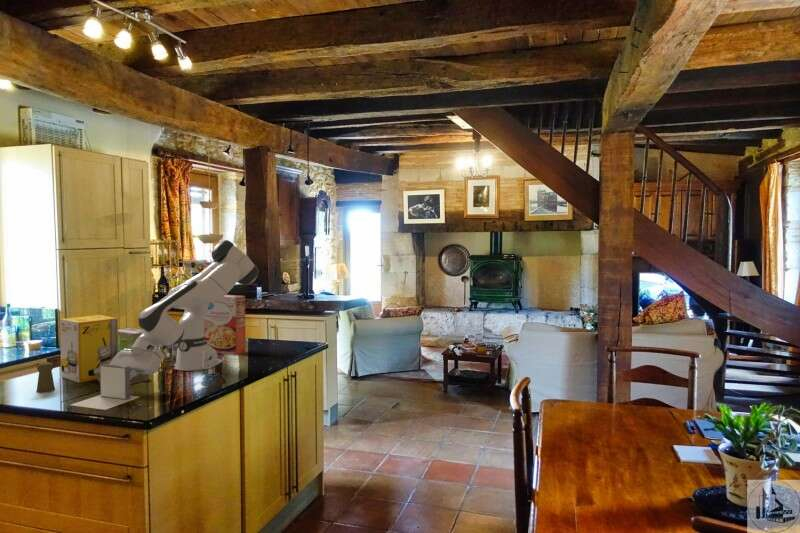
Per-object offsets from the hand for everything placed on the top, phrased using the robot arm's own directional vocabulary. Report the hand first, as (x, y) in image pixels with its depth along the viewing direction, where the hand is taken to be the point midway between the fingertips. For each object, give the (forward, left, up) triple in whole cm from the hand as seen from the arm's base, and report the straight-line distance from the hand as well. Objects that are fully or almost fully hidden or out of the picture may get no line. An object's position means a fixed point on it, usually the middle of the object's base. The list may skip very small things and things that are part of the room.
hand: (124, 380), depth 199 cm
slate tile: (+4, 0, -5) cm, 7 cm away
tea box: (-49, -44, -6) cm, 66 cm away
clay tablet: (-16, -19, -6) cm, 26 cm away
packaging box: (-19, -37, -6) cm, 42 cm away
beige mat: (+8, 0, -6) cm, 10 cm away
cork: (+4, -34, -6) cm, 35 cm away
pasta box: (-80, -14, -6) cm, 81 cm away
